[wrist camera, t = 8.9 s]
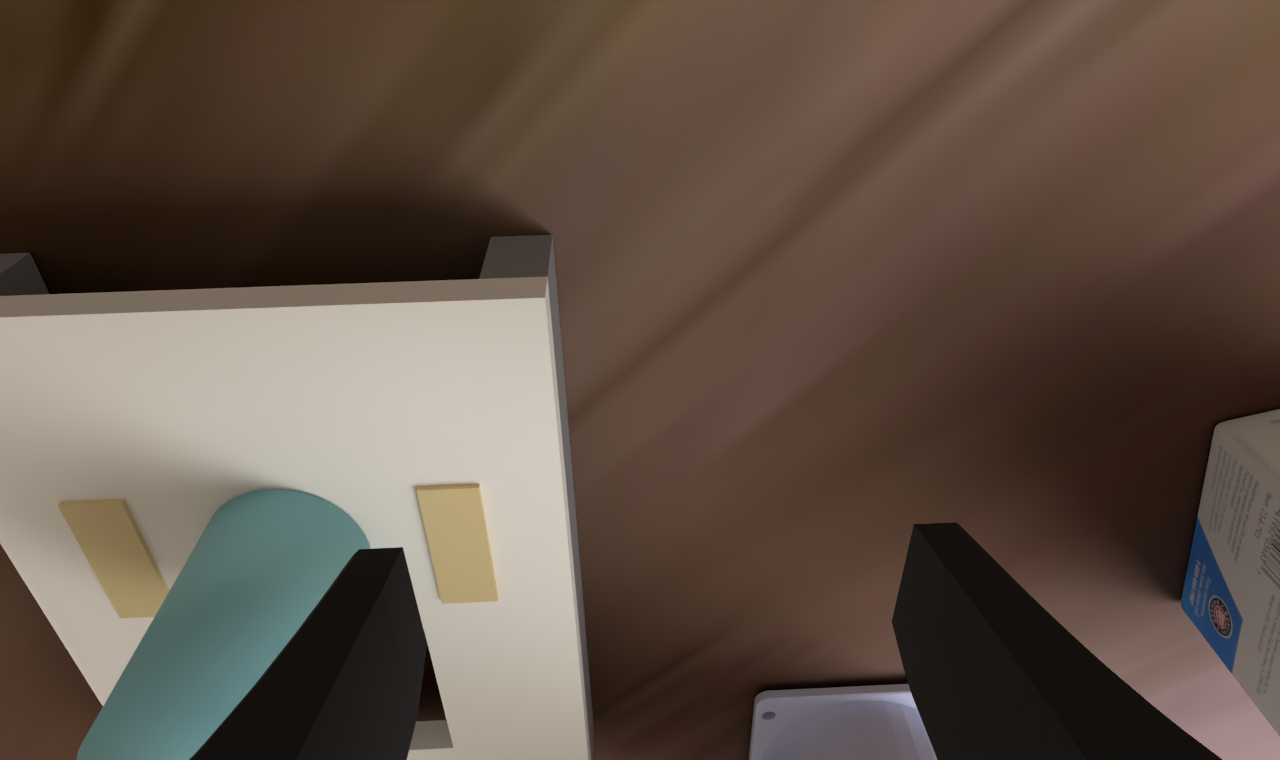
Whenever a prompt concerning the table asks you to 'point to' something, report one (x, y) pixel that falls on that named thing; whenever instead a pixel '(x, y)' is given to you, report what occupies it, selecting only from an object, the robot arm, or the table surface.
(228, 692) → the peg
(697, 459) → the table surface
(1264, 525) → the ink box
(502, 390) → the board
